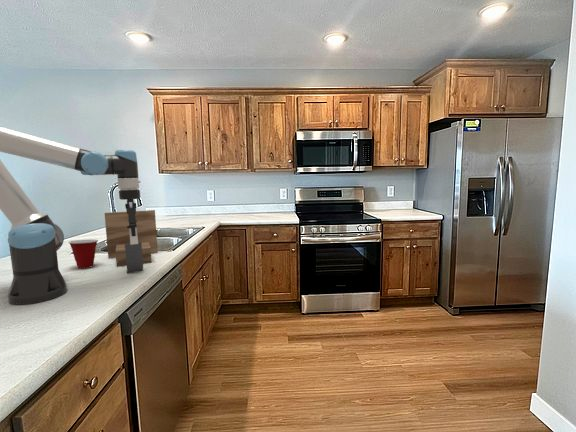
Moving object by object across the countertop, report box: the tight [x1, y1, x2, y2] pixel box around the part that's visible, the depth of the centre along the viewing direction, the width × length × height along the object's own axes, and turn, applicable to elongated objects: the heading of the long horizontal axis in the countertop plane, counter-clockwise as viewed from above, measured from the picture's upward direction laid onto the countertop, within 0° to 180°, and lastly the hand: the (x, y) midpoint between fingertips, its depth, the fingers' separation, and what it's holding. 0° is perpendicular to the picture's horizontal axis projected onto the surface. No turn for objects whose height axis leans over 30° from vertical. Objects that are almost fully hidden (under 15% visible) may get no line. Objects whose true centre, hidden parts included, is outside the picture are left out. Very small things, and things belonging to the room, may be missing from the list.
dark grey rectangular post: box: [125, 242, 144, 274], centre depth 127 cm, size 3×6×12 cm, turn 118°
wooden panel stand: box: [104, 209, 158, 268], centre depth 145 cm, size 20×22×22 cm
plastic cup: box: [68, 238, 99, 270], centre depth 134 cm, size 11×11×12 cm
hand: (134, 241), depth 127 cm, fingers open, 13 cm apart
